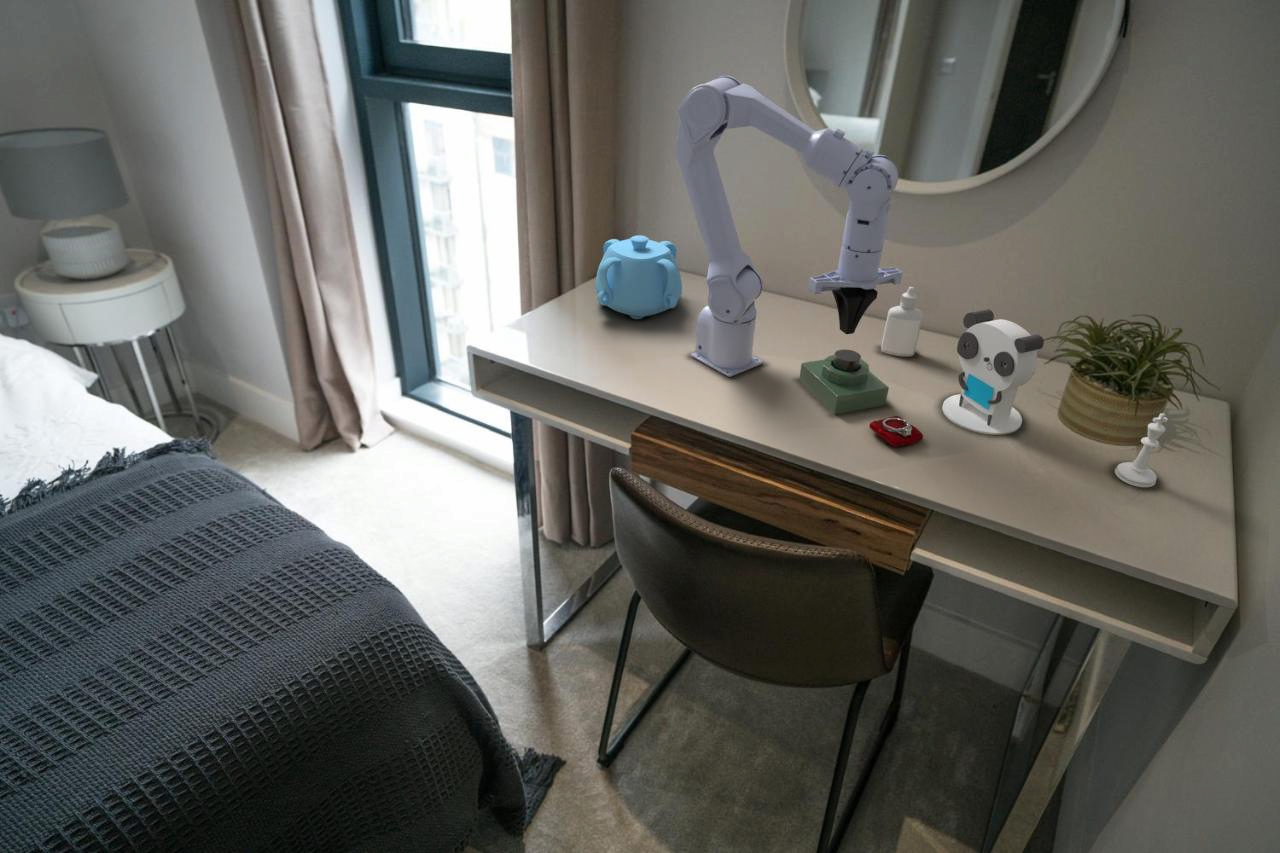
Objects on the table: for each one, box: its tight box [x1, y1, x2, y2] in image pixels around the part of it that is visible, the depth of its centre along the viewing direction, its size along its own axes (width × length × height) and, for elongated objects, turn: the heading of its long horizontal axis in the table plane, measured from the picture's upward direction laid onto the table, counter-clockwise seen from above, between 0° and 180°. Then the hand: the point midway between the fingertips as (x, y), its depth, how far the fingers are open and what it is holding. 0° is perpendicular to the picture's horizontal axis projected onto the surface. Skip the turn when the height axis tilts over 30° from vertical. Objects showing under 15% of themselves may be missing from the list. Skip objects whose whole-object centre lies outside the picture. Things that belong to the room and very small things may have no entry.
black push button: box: [833, 348, 862, 372], centre depth 121 cm, size 4×4×2 cm
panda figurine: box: [941, 308, 1045, 436], centre depth 116 cm, size 12×11×15 cm
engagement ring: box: [868, 415, 924, 448], centre depth 113 cm, size 6×6×3 cm
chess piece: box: [1114, 412, 1169, 488], centre depth 104 cm, size 5×5×10 cm
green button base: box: [798, 354, 890, 415], centre depth 123 cm, size 11×9×5 cm
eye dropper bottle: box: [880, 286, 923, 358], centre depth 133 cm, size 4×6×12 cm
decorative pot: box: [594, 235, 683, 320], centre depth 147 cm, size 16×16×14 cm
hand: (846, 331), depth 121 cm, fingers closed
